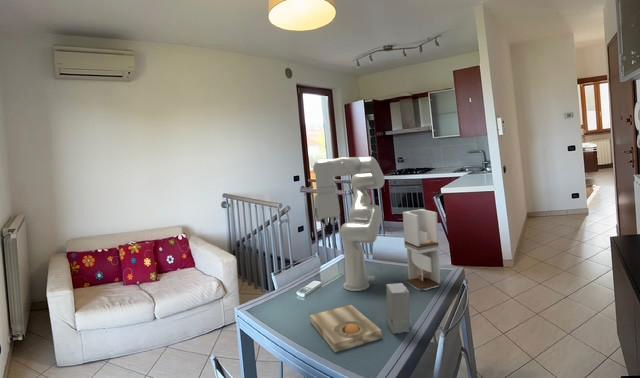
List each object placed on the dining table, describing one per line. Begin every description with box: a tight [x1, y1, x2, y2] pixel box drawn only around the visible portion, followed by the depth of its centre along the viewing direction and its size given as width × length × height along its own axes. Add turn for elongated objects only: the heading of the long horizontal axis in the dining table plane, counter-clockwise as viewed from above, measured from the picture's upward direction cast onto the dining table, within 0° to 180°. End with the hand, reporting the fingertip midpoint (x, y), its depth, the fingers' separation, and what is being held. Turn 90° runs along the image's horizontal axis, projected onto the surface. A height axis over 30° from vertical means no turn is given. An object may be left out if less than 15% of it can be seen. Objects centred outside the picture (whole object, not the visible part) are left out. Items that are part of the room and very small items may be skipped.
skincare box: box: [385, 282, 410, 335], centre depth 133 cm, size 8×7×16 cm
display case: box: [402, 208, 441, 290], centre depth 169 cm, size 11×11×35 cm
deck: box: [309, 304, 383, 353], centre depth 136 cm, size 18×24×3 cm
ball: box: [345, 324, 359, 334], centre depth 130 cm, size 5×5×5 cm
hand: (329, 233), depth 153 cm, fingers closed
